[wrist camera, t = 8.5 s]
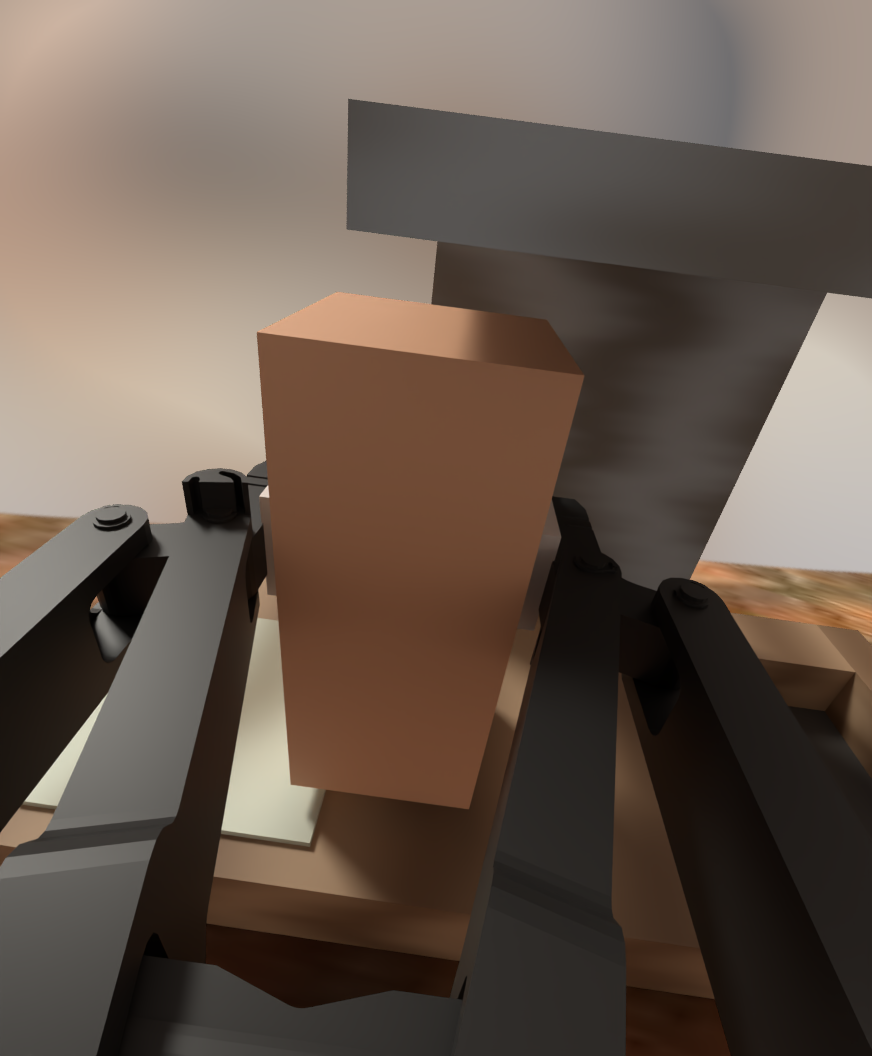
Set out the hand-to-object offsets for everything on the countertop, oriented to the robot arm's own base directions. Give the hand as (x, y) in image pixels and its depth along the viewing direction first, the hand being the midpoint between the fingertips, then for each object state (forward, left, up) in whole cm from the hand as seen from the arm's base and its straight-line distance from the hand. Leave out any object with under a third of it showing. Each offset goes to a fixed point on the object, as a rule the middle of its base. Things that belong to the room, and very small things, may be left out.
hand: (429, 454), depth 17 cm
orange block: (0, -5, -7) cm, 9 cm away
